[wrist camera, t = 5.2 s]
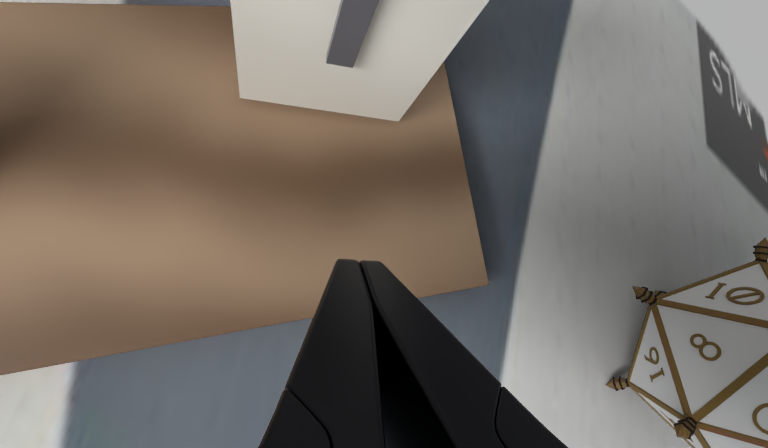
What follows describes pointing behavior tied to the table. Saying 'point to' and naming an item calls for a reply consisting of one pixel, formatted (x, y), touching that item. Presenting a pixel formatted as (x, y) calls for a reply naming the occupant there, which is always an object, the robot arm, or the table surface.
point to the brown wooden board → (197, 187)
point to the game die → (708, 357)
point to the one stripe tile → (345, 51)
